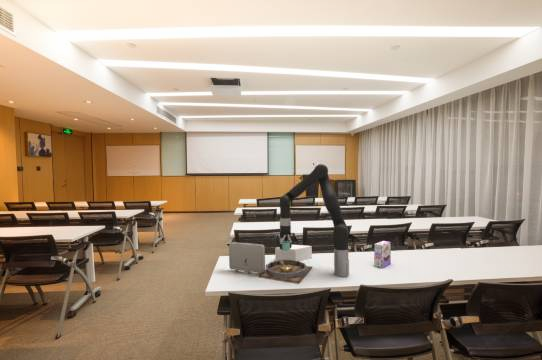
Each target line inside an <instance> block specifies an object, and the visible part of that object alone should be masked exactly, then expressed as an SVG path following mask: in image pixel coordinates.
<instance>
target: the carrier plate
mask: <svg viewBox="0 0 542 360" xmlns="http://www.w3.org/2000/svg"><path fill="white" fill-rule="evenodd" d="M280 264H281V265H276V266H274V267H271V268H270V269H271V270H272V271H276V272H279V273H283V272H280V266H283V261H280ZM284 265H287V264H284ZM289 266H293V271H292V272H290V273H293V272H298V271H300V270H303V268H301V267H300V266H295V265H290V264H289ZM306 266H307V272H306V274H305V275H303V276H300V277H297V278H286V279H283V278H277V277H272V276H270V275H268V274H267V272H266V269H265V271H263V272H262V273H261V274H259V275H258V278H263V279H269V280H275V281H280V282H286V283H293V284H299V285H300V283H302V281H303V280H304V279H305V278H306V277H307V276H308V274H309V273H310V272H311V271H312V270H313V266H310V265H306ZM285 273H288V272H285Z"/></svg>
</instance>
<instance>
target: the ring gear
mask: <svg viewBox="0 0 542 360" xmlns="http://www.w3.org/2000/svg"><path fill="white" fill-rule="evenodd" d="M280 261H283V265H284V264H287V265H289V264H290V265H295V266H300V267H301V268H303V270H300V271H298V272H293V273H285V272H283V273H279V272H276V271H272V270H271V269H270V268H271V267H274V266H276V265H281V264H280ZM307 266H308V265H306V263H305V262H303V261H301V262H300V261H295V260H277V261H275V260H274V261H270V262H268V263H267V264H265V270H266V272H267V274H268V275H270V276H272V277H277V278H283V279H286V278H297V277H300V276H303V275H305V274H306V272H307Z"/></svg>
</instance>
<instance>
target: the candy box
mask: <svg viewBox="0 0 542 360" xmlns="http://www.w3.org/2000/svg"><path fill="white" fill-rule="evenodd" d="M373 246H374V247H373V248H374V252H373V255H374V258H373V259H374V261H373V262H374V267H375V268H376V267H377V268H380V269H383V268H386V267H387V266H389V265H391V264H392V263H391V261H392V260H391V258H392V257H391V256H392V255H391V253H392V252H391V249H392V248H391V241H386V240H382V241H379V242H377V243H374V244H373Z"/></svg>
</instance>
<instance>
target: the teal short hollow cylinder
mask: <svg viewBox="0 0 542 360" xmlns="http://www.w3.org/2000/svg"><path fill="white" fill-rule="evenodd" d="M281 250H283V251H289V250H290V242H289V241H288V240H286V241H285V240H283V242H282V249H281Z"/></svg>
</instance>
